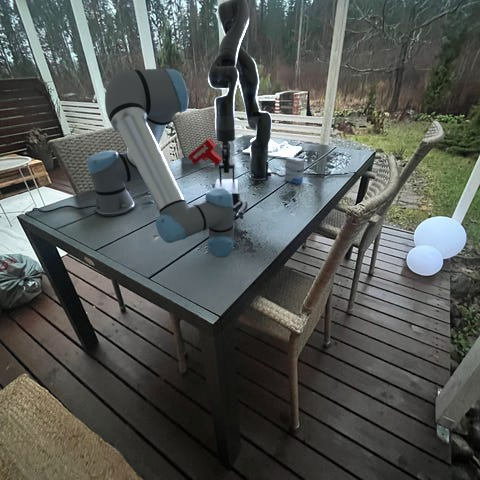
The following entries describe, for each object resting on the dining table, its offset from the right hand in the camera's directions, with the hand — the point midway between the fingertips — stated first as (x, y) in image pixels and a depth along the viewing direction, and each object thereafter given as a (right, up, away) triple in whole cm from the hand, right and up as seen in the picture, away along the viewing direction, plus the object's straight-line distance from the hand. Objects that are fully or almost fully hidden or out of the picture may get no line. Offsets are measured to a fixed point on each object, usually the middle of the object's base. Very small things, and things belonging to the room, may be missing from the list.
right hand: (226, 170), depth 113 cm
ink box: (+34, +2, +30) cm, 45 cm away
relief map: (+29, +34, +80) cm, 92 cm away
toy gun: (-16, +19, +57) cm, 62 cm away
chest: (0, -15, +3) cm, 16 cm away
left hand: (0, -11, -3) cm, 12 cm away
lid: (0, -7, -1) cm, 8 cm away
